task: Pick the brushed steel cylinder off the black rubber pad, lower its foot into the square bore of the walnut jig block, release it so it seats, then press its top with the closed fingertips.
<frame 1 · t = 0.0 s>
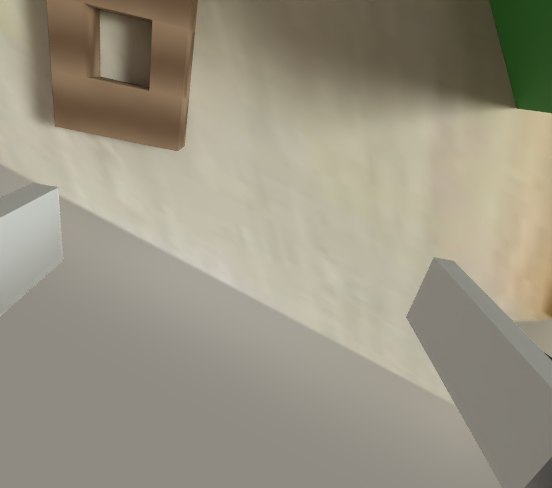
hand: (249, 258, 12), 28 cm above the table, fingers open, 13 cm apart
hardback book: (533, 1, 33), on the table
jig: (130, 51, 34), on the table
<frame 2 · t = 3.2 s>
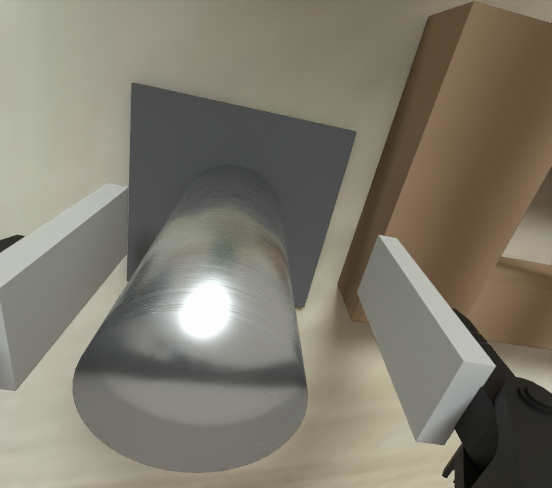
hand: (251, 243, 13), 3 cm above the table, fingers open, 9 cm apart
jig: (533, 204, 16), on the table
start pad: (232, 210, 16), on the table
brushed steel cylinder: (231, 213, 16), resting on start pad
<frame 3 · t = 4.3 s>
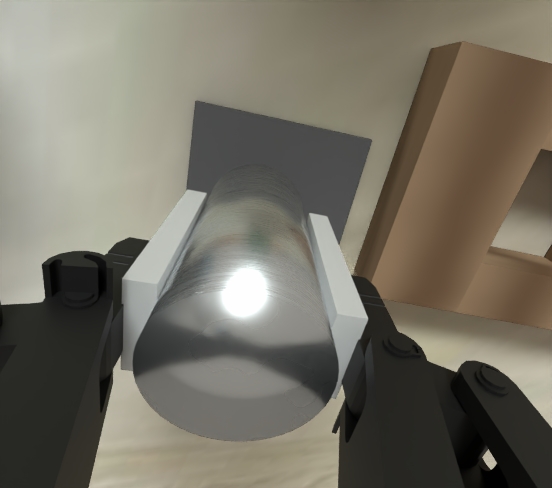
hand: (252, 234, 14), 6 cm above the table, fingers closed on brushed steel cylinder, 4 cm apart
jig: (524, 202, 19), on the table
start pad: (268, 203, 19), on the table
brushed steel cylinder: (255, 210, 16), point 3 cm above the table, touching gripper
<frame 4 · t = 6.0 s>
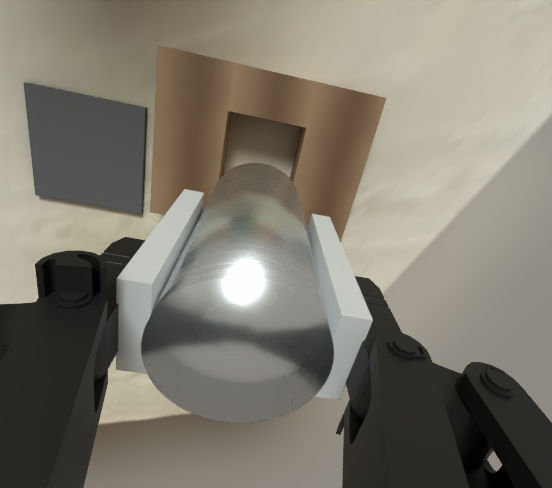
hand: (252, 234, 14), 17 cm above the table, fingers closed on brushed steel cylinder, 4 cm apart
jig: (261, 151, 29), on the table
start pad: (89, 153, 29), on the table
brushed steel cylinder: (255, 207, 17), point 13 cm above the table, touching gripper
when the fingers open (4 cm above the table, at t = 8.0 s): brushed steel cylinder stays where it is, resting in jig.
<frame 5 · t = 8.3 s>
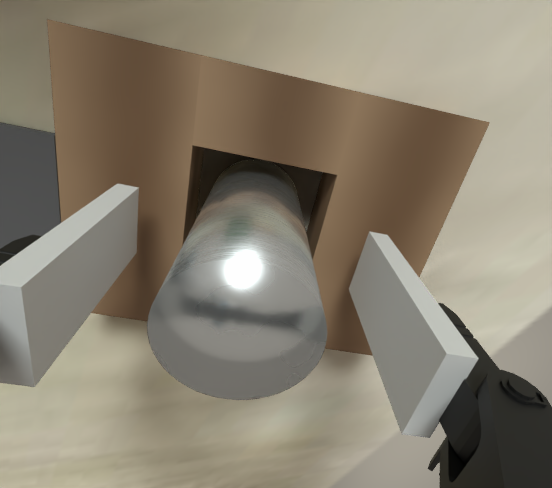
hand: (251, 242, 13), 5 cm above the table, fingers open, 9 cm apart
jig: (256, 203, 17), on the table
brushed steel cylinder: (254, 202, 17), resting in jig
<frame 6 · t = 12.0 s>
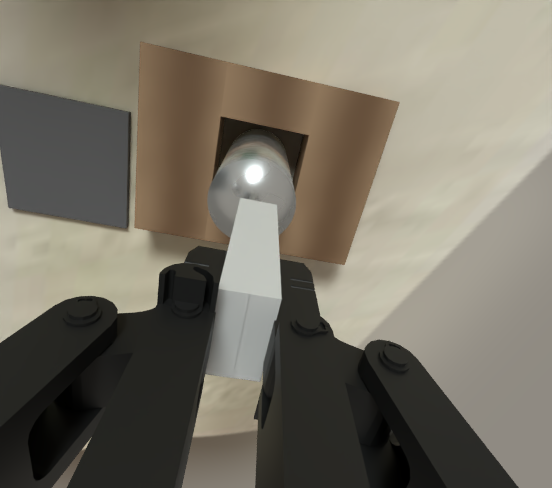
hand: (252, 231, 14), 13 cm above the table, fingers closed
jig: (258, 159, 26), on the table
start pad: (68, 161, 26), on the table
brushed steel cylinder: (257, 159, 26), resting in jig
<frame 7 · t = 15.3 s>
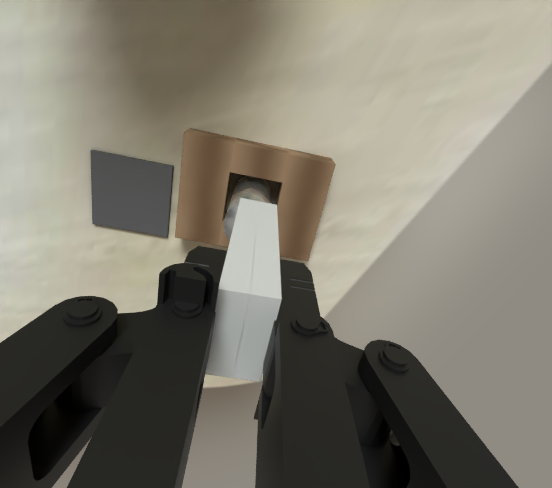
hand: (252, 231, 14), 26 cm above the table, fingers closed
jig: (252, 194, 41), on the table
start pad: (132, 195, 41), on the table
brushed steel cylinder: (252, 193, 41), resting in jig
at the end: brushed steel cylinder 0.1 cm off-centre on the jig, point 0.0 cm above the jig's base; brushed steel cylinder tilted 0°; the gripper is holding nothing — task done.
